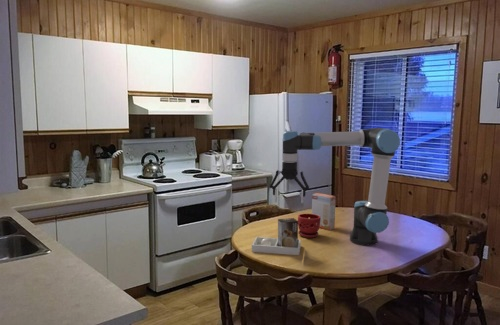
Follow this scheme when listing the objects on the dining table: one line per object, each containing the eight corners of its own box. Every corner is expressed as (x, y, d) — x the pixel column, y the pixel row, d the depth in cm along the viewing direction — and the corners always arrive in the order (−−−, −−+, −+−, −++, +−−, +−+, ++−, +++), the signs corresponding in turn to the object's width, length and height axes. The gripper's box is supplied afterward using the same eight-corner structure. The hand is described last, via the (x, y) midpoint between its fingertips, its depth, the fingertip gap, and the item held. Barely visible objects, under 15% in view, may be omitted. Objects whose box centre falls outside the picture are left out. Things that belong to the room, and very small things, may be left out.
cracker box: (334, 228, 260) (336, 195, 257) (329, 230, 256) (330, 197, 253) (316, 223, 270) (317, 192, 267) (311, 225, 266) (311, 193, 263)
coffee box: (293, 246, 224) (294, 217, 222) (297, 250, 218) (298, 221, 216) (277, 248, 222) (277, 218, 220) (281, 252, 216) (281, 222, 214)
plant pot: (319, 239, 239) (320, 219, 237) (296, 238, 242) (297, 218, 240) (320, 232, 252) (321, 213, 250) (298, 231, 254) (299, 212, 253)
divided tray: (300, 247, 226) (300, 239, 225) (298, 256, 213) (299, 248, 212) (256, 244, 230) (256, 236, 230) (251, 253, 217) (251, 245, 216)
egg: (271, 246, 224) (271, 237, 224) (269, 250, 219) (269, 240, 219) (261, 245, 225) (261, 236, 225) (260, 249, 220) (260, 239, 219)
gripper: (314, 161, 215) (313, 201, 218) (266, 159, 219) (266, 199, 222) (314, 163, 207) (313, 204, 211) (264, 161, 212) (264, 202, 215)
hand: (288, 202), depth 216 cm, fingers open, 13 cm apart
